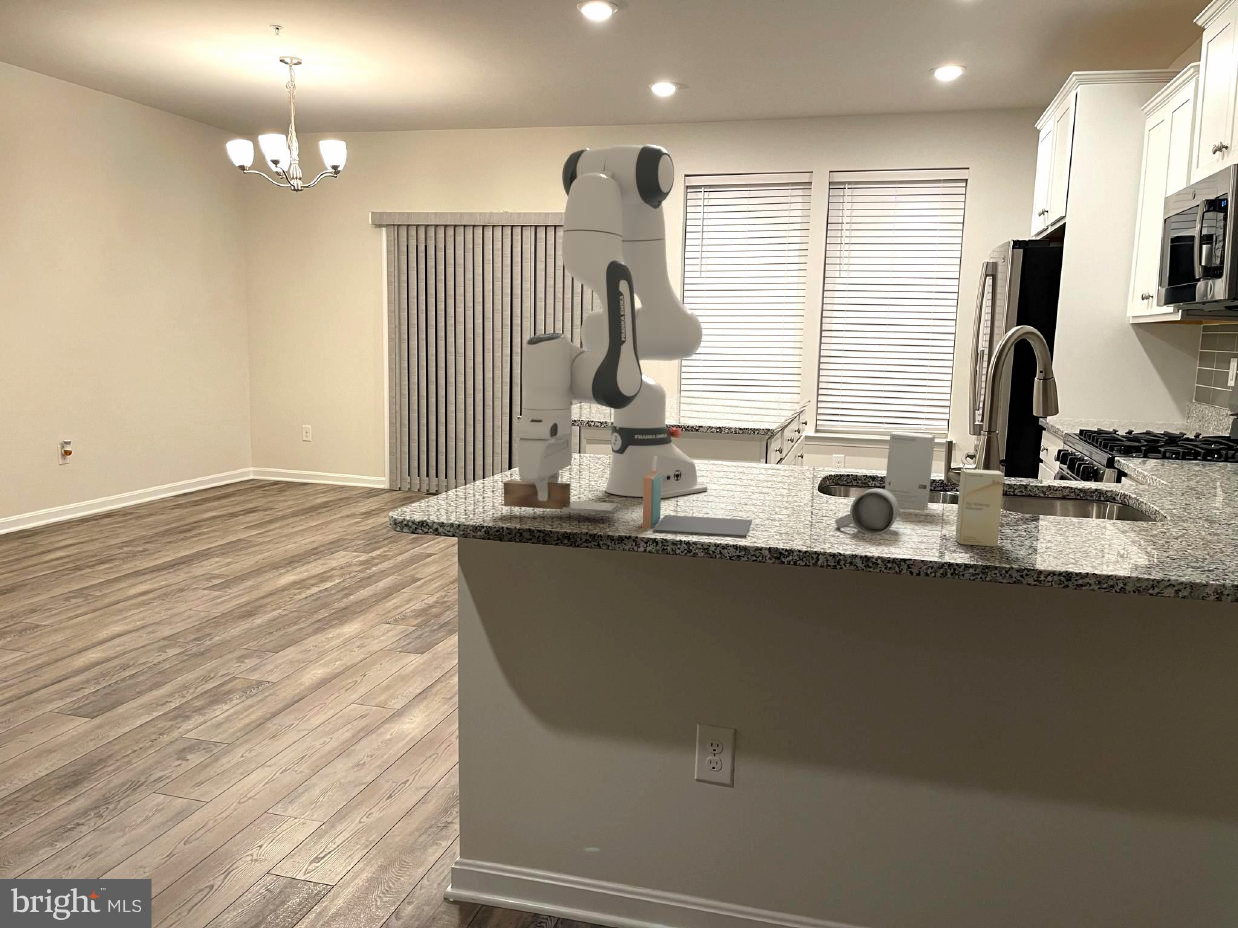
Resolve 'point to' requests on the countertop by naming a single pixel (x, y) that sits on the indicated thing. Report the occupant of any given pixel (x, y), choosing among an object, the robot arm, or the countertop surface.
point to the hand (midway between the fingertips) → (547, 497)
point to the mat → (703, 526)
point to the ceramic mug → (871, 512)
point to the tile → (651, 499)
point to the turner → (551, 498)
